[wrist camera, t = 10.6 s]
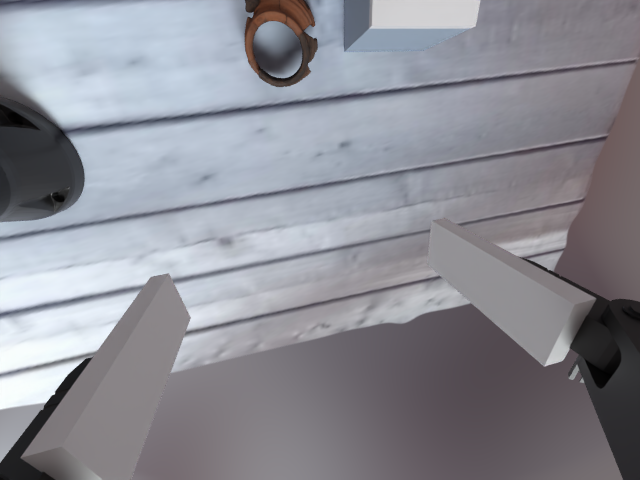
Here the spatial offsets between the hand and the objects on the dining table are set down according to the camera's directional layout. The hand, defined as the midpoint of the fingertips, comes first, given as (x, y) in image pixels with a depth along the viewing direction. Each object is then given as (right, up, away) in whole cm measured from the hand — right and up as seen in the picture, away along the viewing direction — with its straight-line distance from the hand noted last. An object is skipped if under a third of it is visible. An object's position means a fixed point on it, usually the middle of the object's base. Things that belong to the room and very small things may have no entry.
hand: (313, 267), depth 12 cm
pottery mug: (-6, +28, +19) cm, 35 cm away
